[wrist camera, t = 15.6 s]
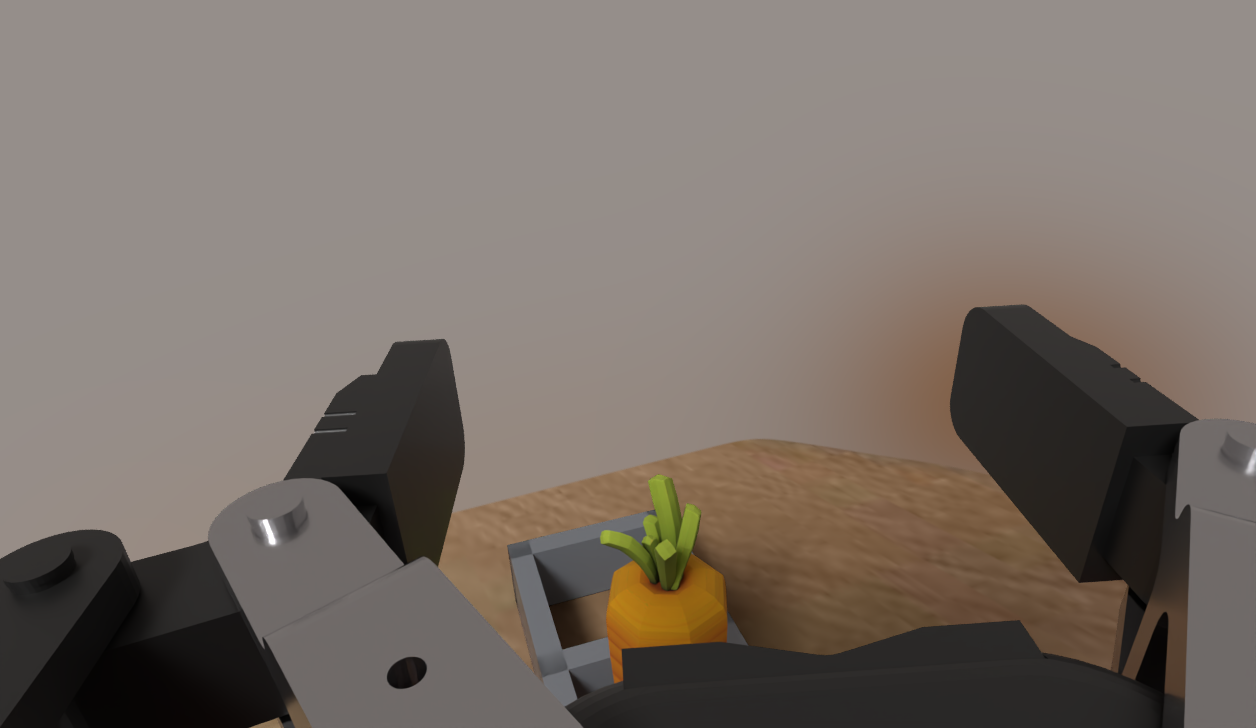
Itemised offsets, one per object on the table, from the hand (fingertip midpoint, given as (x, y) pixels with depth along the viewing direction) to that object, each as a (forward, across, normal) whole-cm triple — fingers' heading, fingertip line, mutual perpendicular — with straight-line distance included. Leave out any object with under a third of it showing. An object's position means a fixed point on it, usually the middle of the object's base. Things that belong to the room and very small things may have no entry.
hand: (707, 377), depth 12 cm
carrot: (+11, 0, +26) cm, 28 cm away
